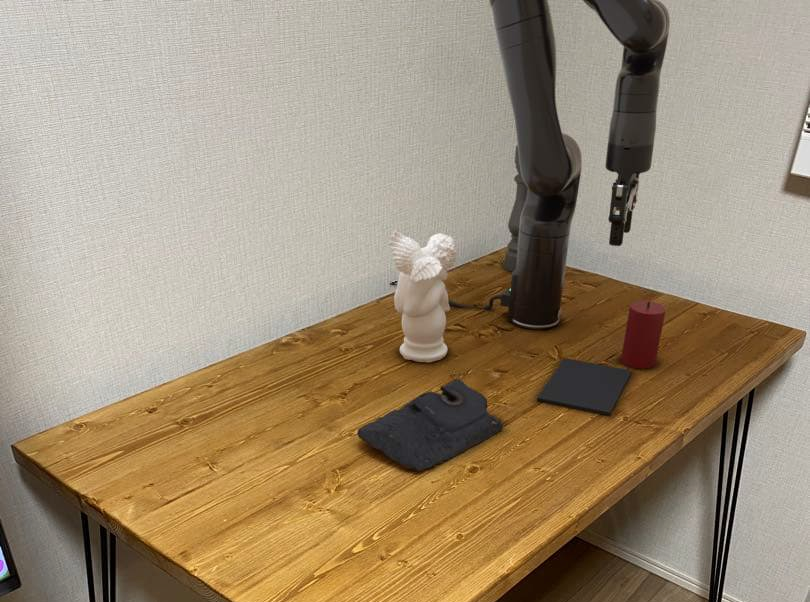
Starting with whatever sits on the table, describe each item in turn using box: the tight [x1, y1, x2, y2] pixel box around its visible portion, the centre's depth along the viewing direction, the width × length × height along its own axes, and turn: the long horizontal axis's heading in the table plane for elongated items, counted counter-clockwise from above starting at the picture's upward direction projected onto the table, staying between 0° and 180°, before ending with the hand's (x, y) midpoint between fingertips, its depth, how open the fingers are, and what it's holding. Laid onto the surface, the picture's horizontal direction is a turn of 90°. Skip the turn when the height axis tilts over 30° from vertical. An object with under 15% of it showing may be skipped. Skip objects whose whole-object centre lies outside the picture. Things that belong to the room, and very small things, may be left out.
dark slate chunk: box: [357, 378, 504, 472], centre depth 133 cm, size 15×22×5 cm
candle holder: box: [504, 144, 528, 273], centre depth 188 cm, size 6×6×25 cm
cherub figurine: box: [388, 230, 458, 363], centre depth 150 cm, size 12×12×22 cm
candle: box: [620, 300, 667, 370], centre depth 154 cm, size 6×6×11 cm
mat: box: [536, 357, 633, 416], centre depth 148 cm, size 12×17×1 cm
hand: (619, 238), depth 157 cm, fingers open, 8 cm apart
